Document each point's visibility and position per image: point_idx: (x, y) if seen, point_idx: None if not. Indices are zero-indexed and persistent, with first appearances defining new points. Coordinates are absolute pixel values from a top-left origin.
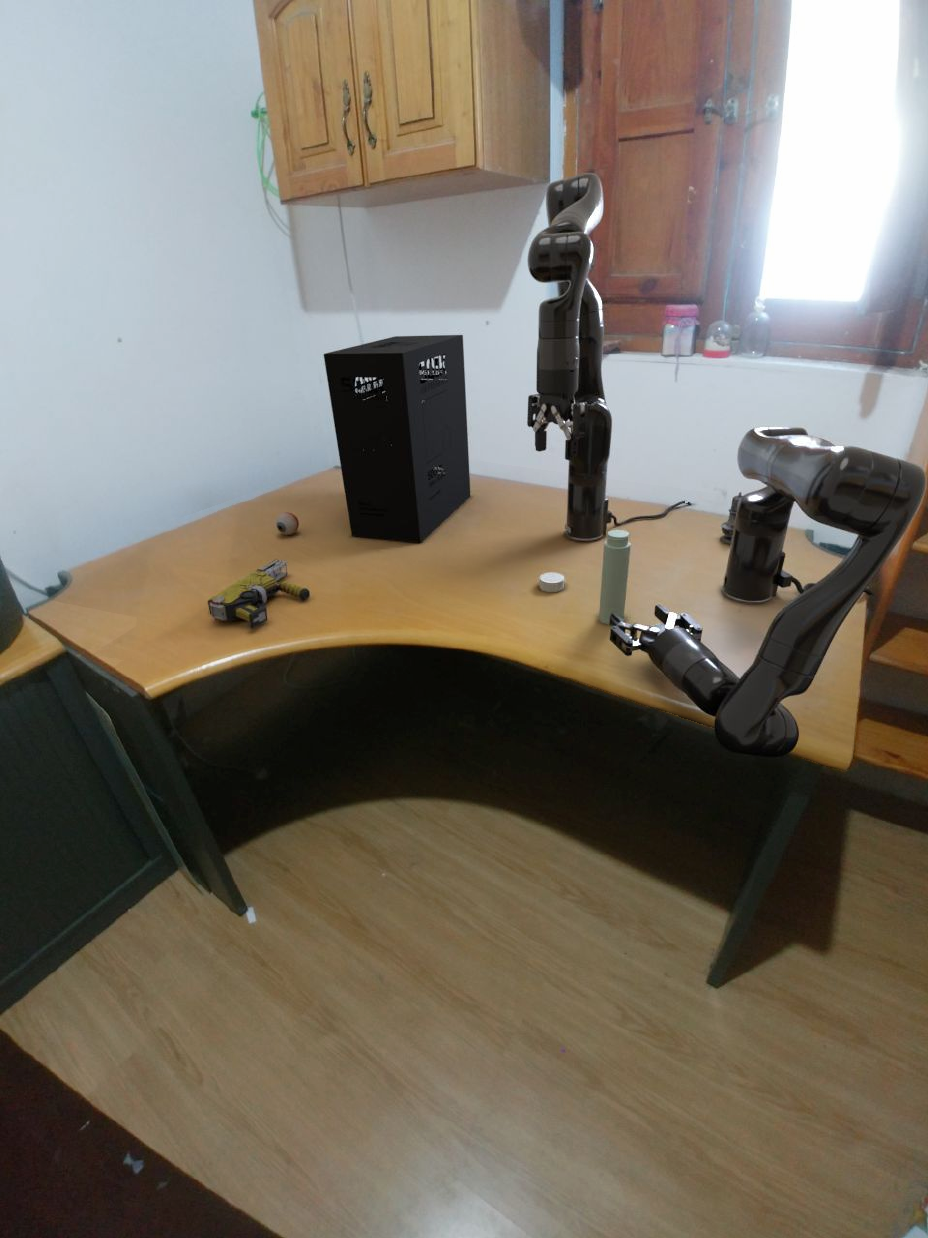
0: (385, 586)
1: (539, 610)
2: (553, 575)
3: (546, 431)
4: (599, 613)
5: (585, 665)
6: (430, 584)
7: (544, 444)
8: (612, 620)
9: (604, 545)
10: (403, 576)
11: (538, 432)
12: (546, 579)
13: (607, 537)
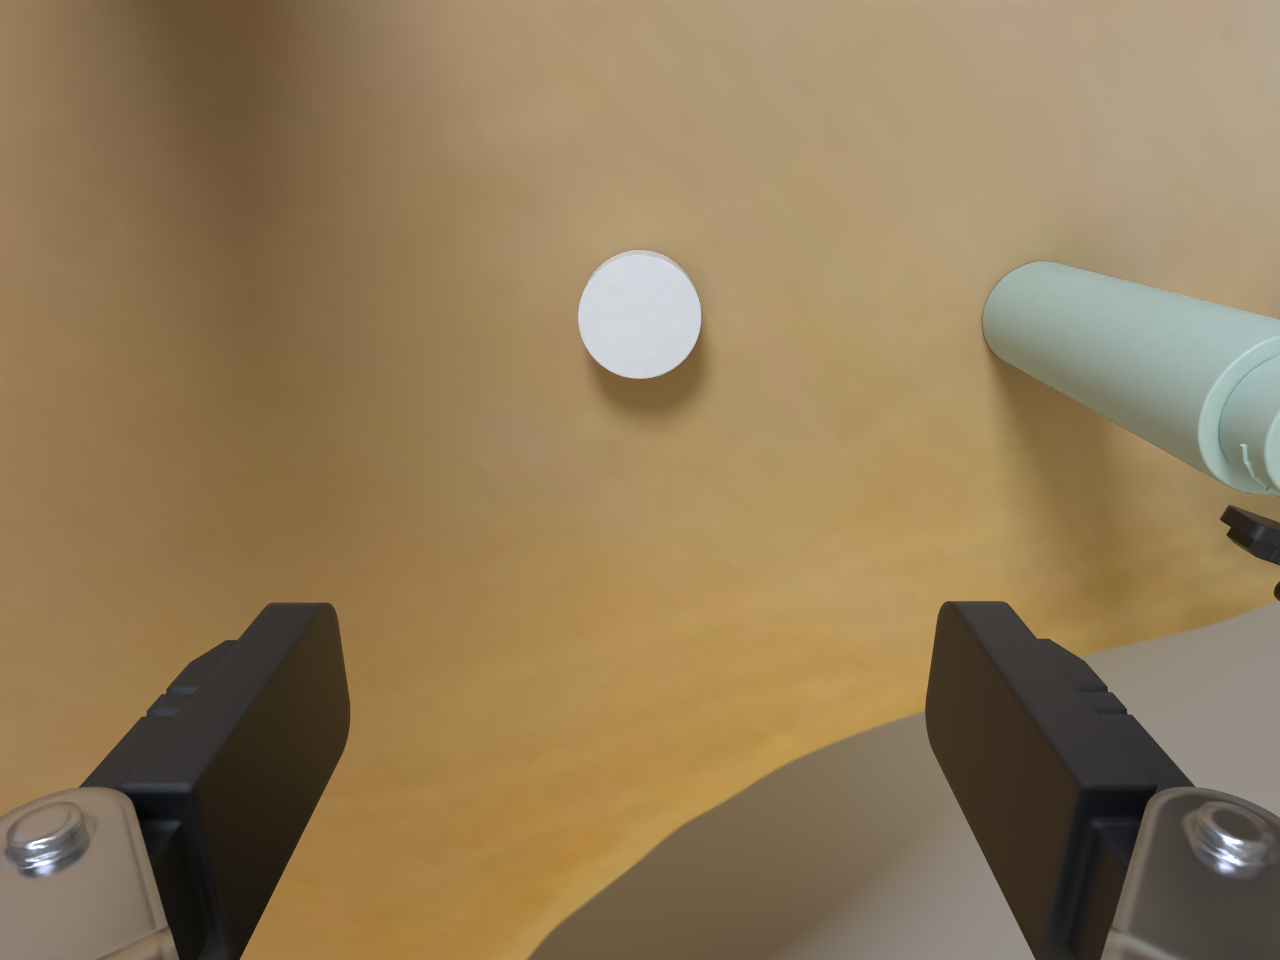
0: None
1: (770, 491)
2: (625, 296)
3: (197, 781)
4: (1009, 363)
5: (1151, 607)
6: None
7: (304, 671)
8: (1275, 563)
9: (1218, 480)
10: None
11: (210, 947)
12: (638, 353)
13: (1270, 491)
